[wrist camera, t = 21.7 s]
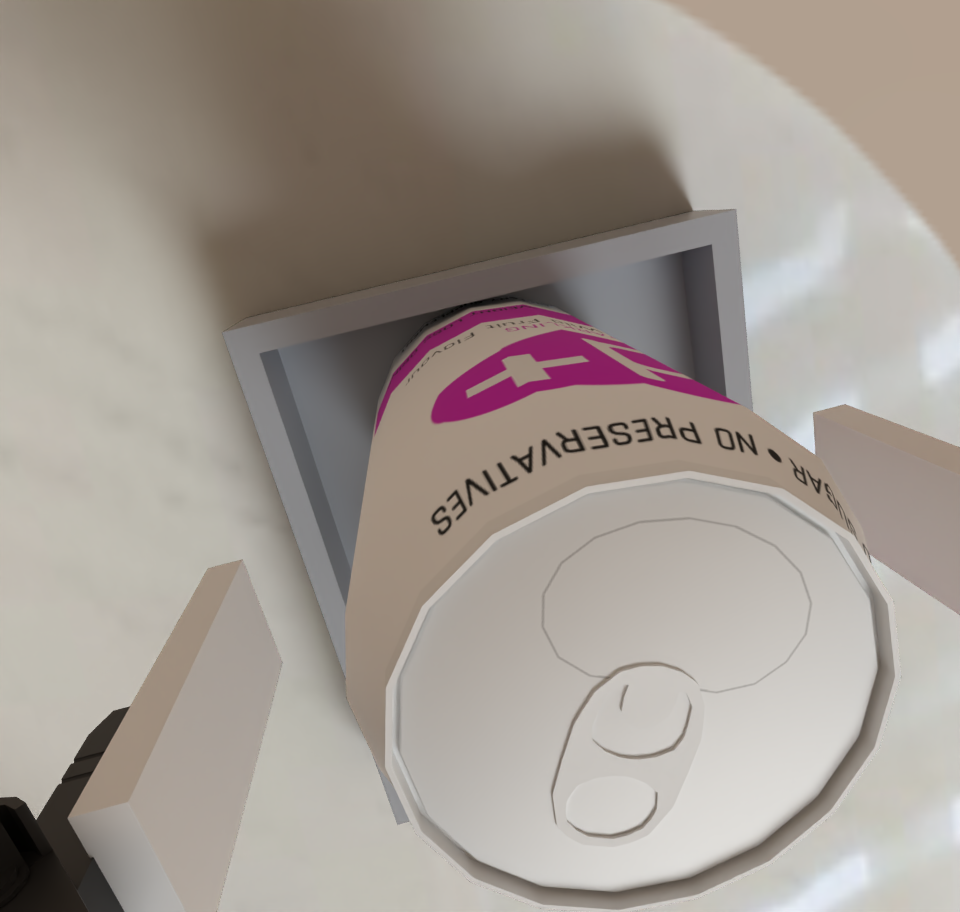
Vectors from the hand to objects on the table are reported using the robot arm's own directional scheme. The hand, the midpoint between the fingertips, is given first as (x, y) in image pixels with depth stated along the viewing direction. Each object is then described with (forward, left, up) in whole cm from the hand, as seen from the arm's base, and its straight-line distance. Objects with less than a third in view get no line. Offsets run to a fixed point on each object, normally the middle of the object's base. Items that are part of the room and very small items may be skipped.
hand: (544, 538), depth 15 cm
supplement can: (0, 0, -9) cm, 9 cm away
